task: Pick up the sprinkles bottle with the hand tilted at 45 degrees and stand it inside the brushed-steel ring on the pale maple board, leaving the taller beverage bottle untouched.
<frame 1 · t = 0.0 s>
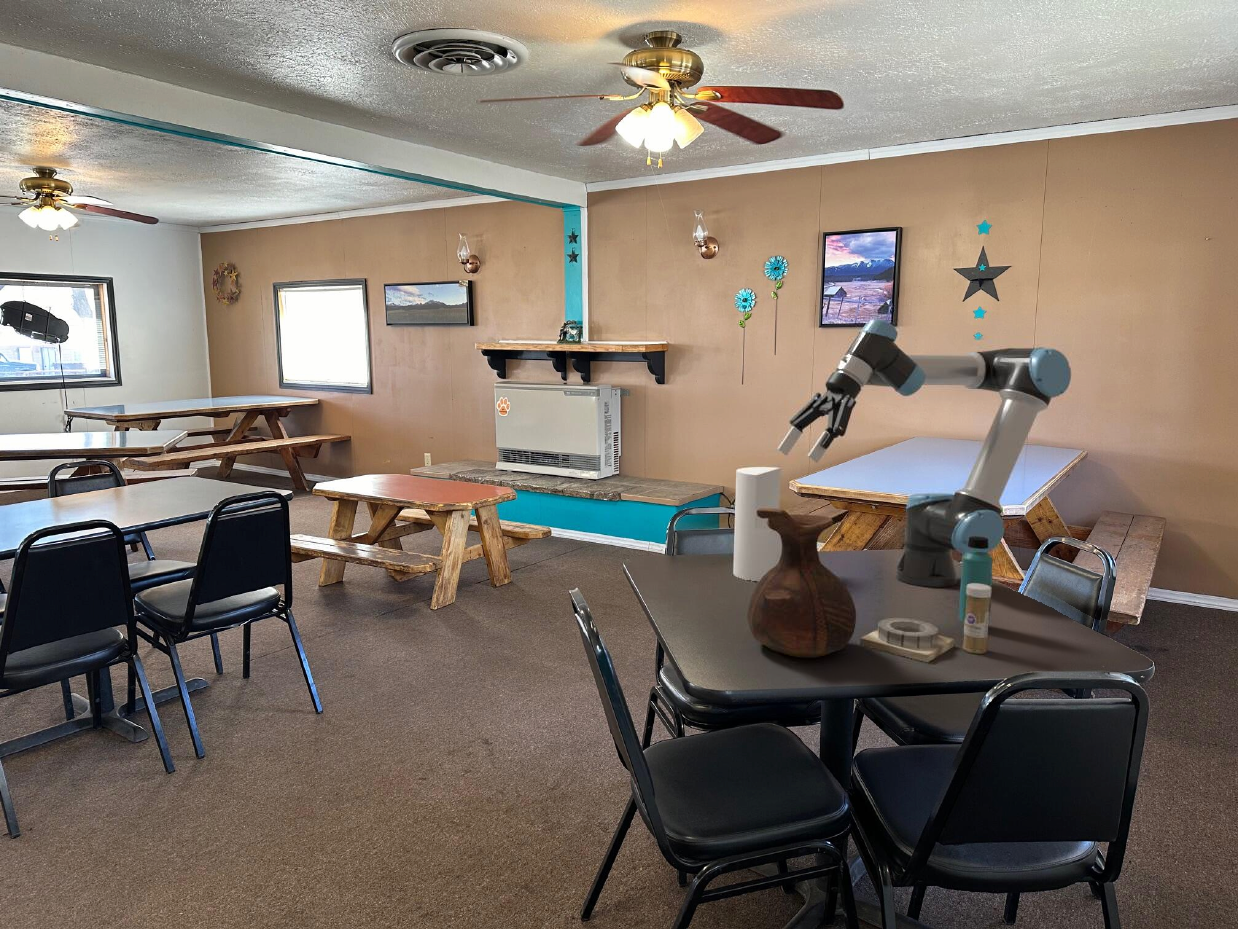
hand: (796, 455, 191), 36 cm above the table, tool tilted 35°, fingers open, 13 cm apart
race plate: (906, 645, 172), on the table
jug: (798, 649, 170), on the table
beverage bottle: (972, 627, 184), on the table
sprinkles bottle: (974, 651, 169), on the table
cylinder: (765, 575, 227), on the table
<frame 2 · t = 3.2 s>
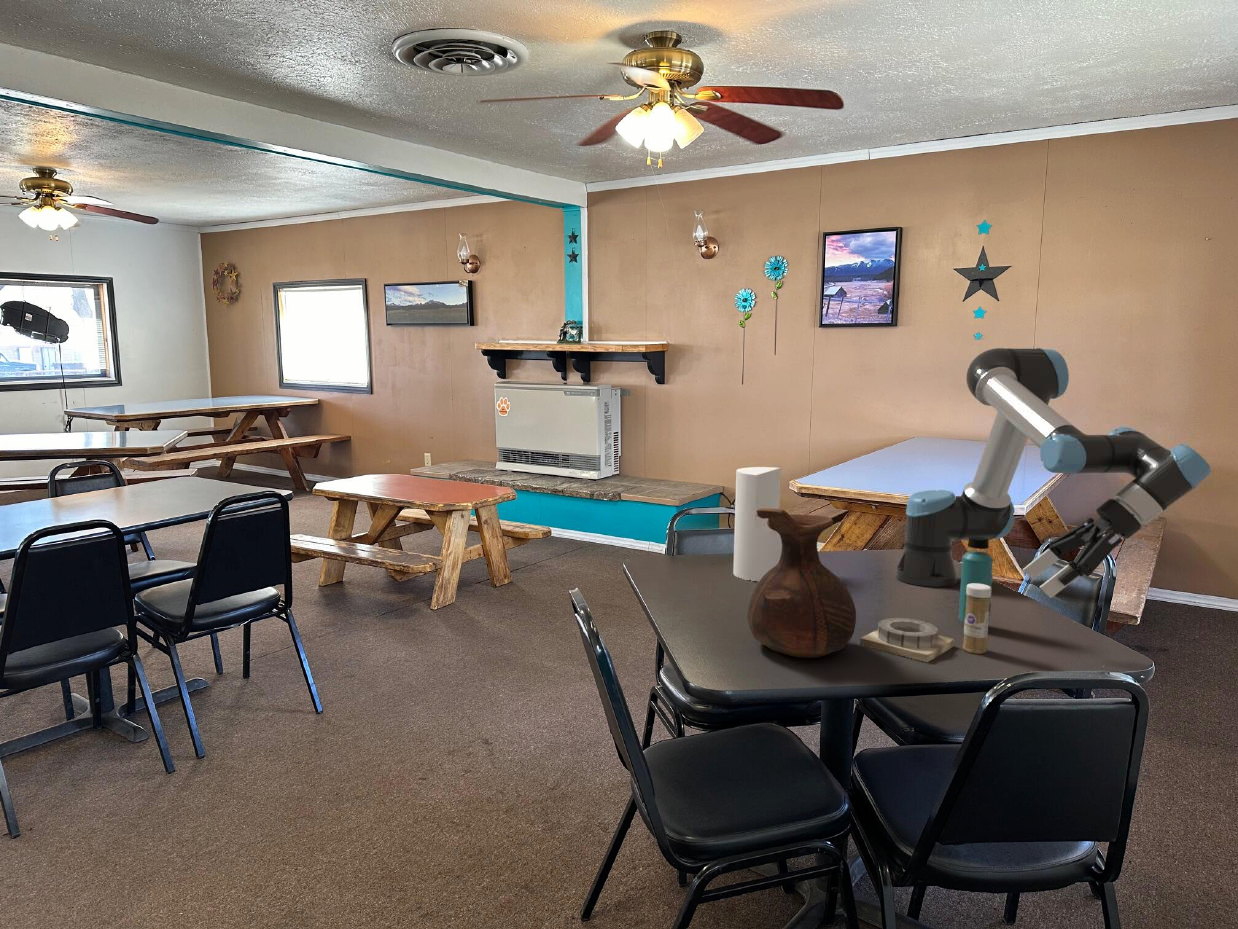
hand: (1035, 583, 165), 15 cm above the table, tool tilted 45°, fingers open, 13 cm apart
nothing on the table moved.
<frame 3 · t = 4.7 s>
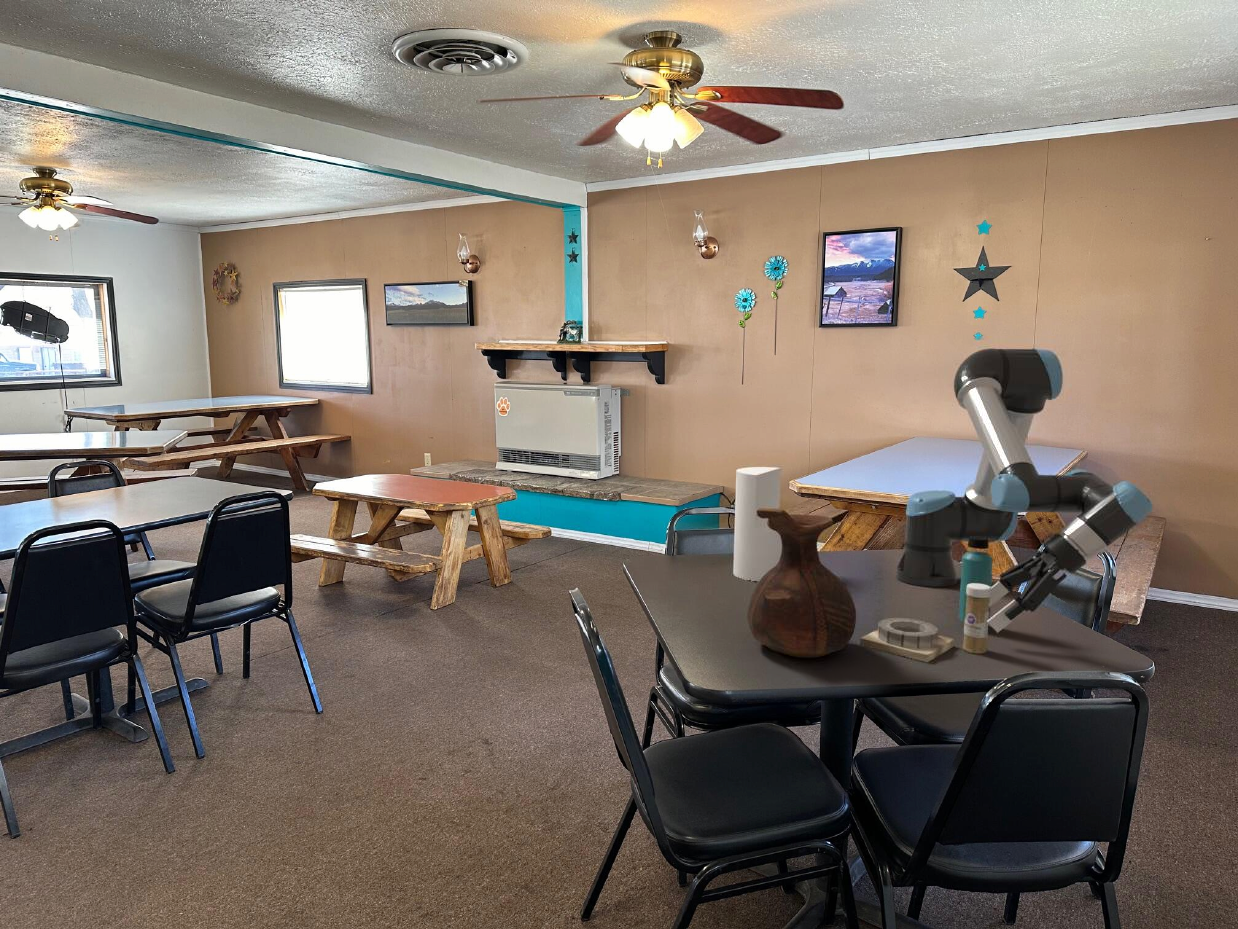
hand: (984, 616, 167), 7 cm above the table, tool tilted 45°, fingers open, 13 cm apart
nothing on the table moved.
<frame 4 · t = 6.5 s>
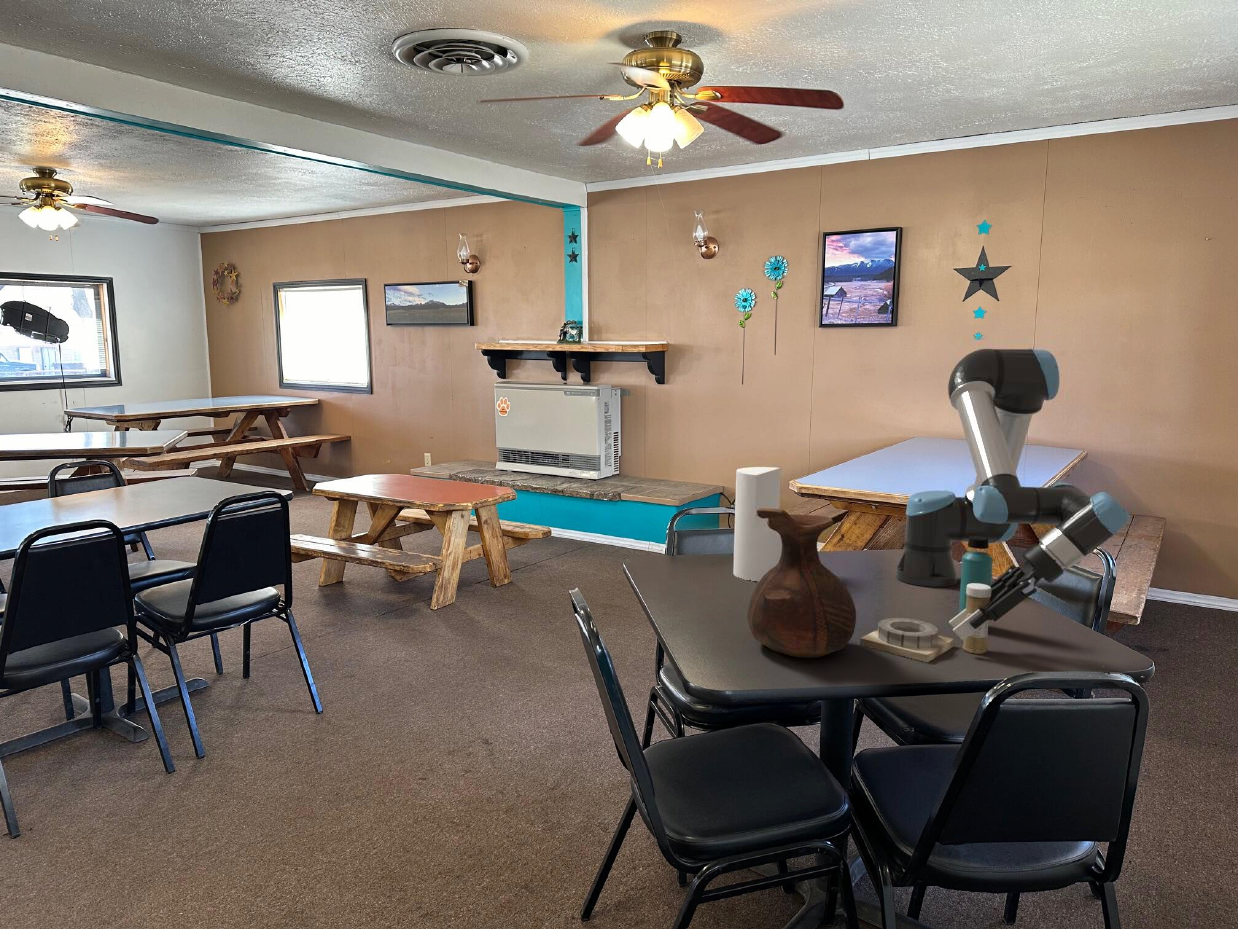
hand: (955, 631, 170), 4 cm above the table, tool tilted 45°, fingers closed on sprinkles bottle, 4 cm apart
sprinkles bottle: (974, 651, 169), on the table, touching gripper
everything else where it was.
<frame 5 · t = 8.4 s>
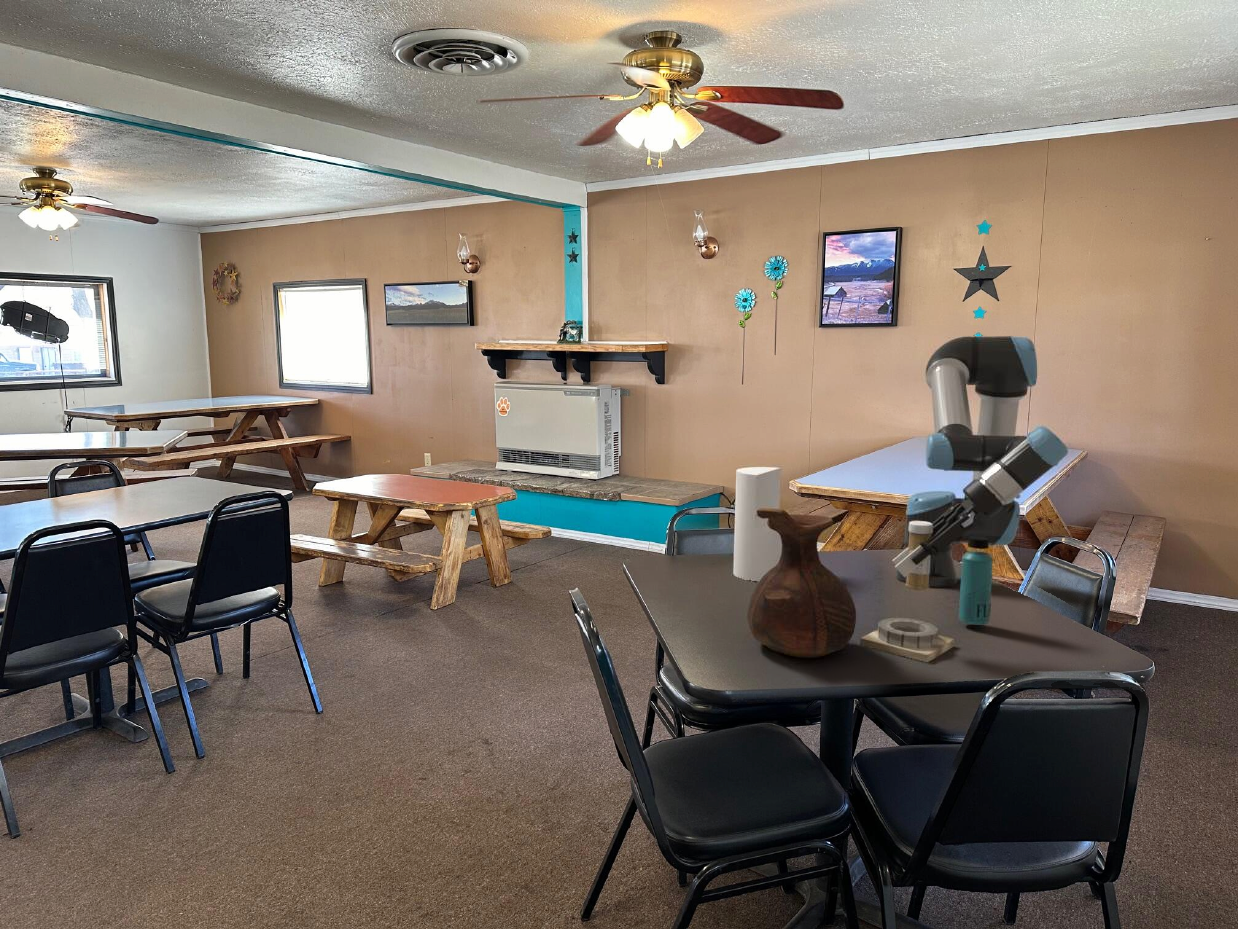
hand: (898, 568, 170), 16 cm above the table, tool tilted 45°, fingers closed on sprinkles bottle, 4 cm apart
sprinkles bottle: (917, 589, 170), point 12 cm above the table, touching gripper
everything else where it was.
when the fingers open (7 cm above the table, at t = 10.5 s): sprinkles bottle drops 1 cm, resting on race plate.
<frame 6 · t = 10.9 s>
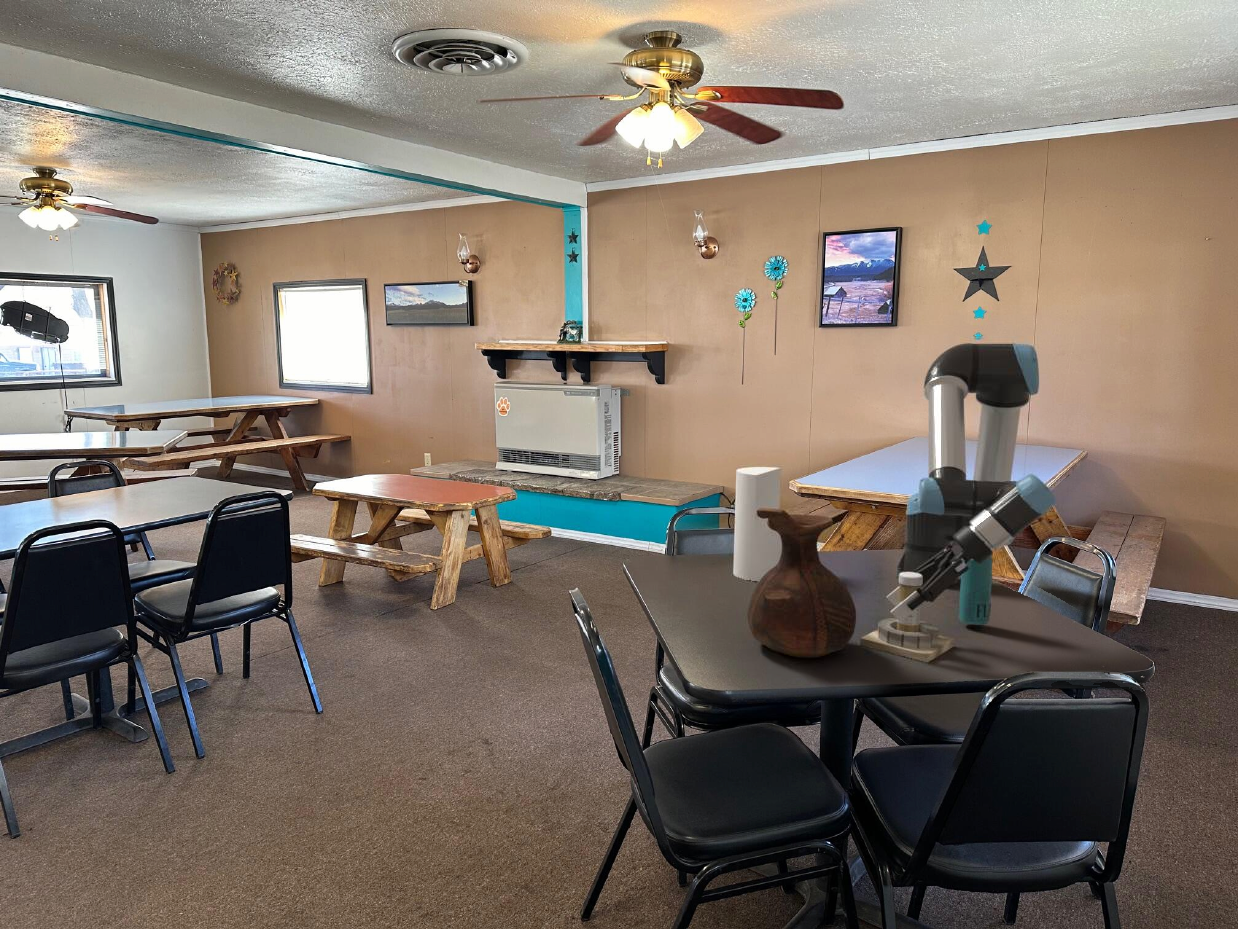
hand: (893, 609, 172), 7 cm above the table, tool tilted 45°, fingers open, 10 cm apart
sprinkles bottle: (907, 639, 172), point 1 cm above the table, touching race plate
everything else where it was.
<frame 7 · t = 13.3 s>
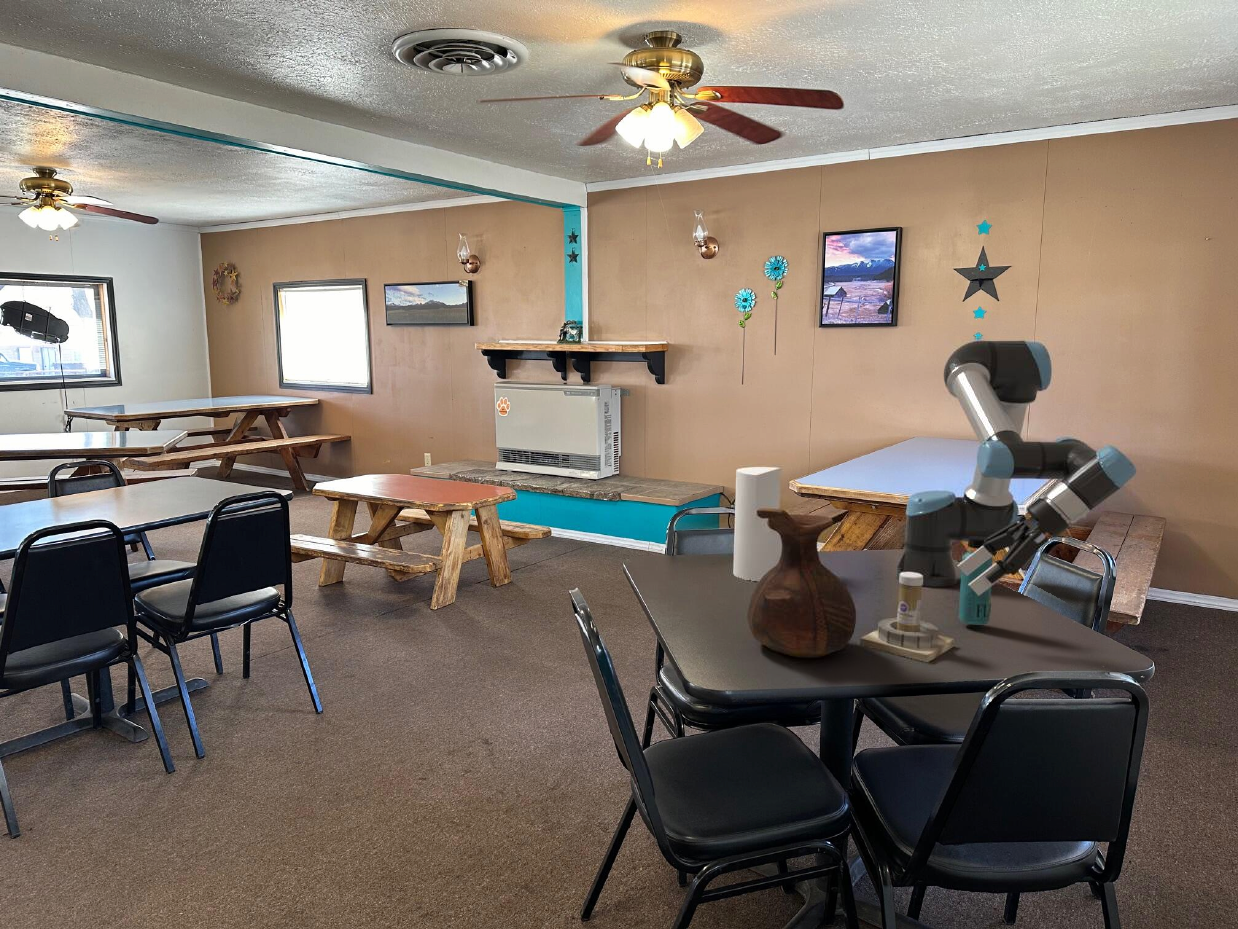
hand: (967, 580, 168), 14 cm above the table, tool tilted 45°, fingers open, 13 cm apart
nothing on the table moved.
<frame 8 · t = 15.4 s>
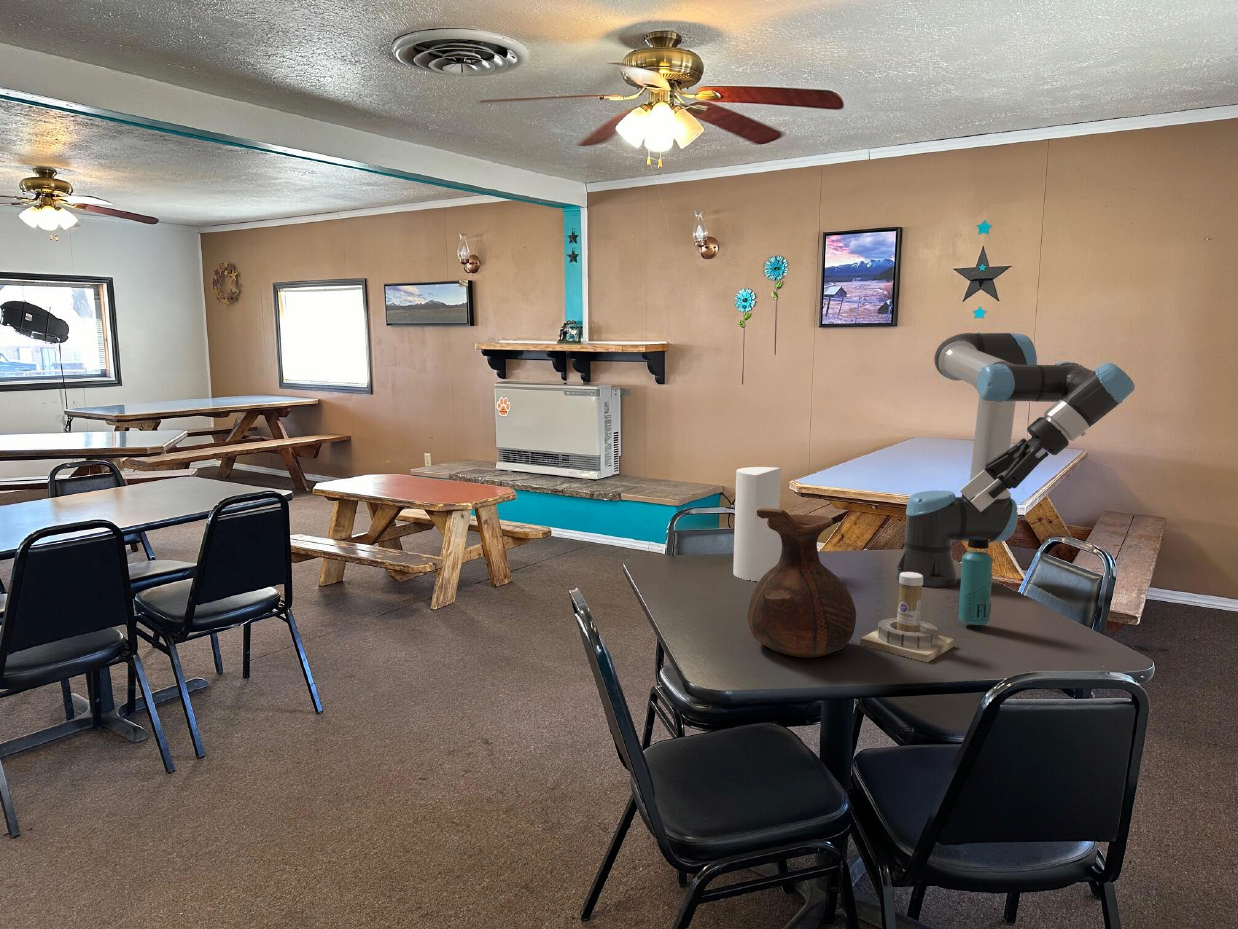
hand: (969, 500, 170), 30 cm above the table, tool tilted 45°, fingers open, 13 cm apart
nothing on the table moved.
at the end: sprinkles bottle 0.2 cm from the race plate (horizontally); sprinkles bottle tilted 0°; sprinkles bottle point 1.3 cm above the table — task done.
